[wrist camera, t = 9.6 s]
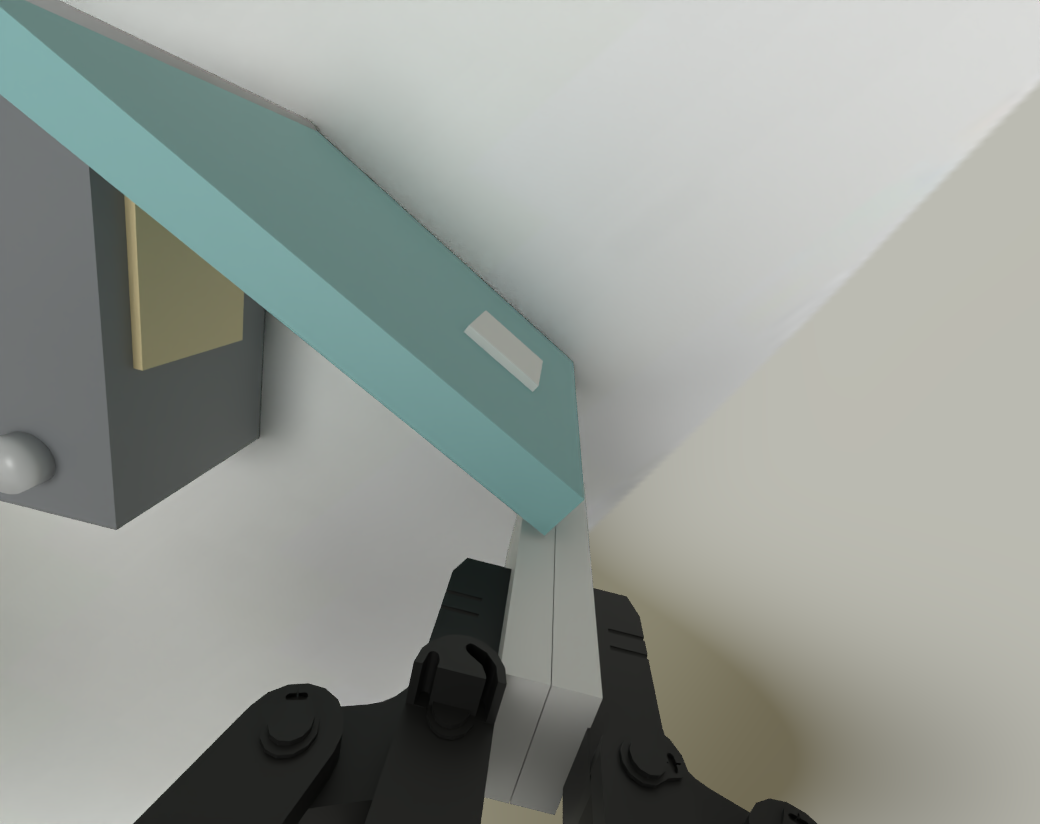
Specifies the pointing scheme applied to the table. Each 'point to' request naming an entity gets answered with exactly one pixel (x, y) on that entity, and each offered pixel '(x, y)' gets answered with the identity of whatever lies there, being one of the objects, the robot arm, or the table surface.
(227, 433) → the camera body
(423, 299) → the side door
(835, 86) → the table surface
